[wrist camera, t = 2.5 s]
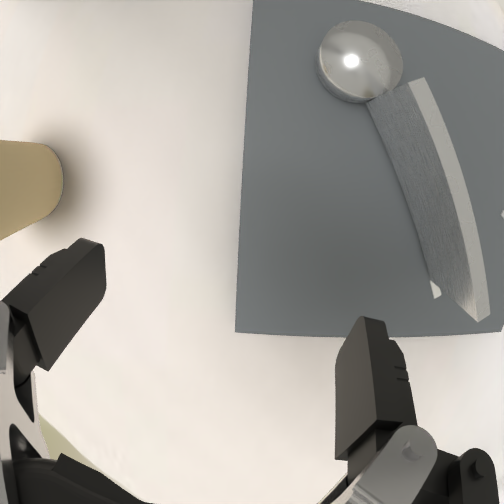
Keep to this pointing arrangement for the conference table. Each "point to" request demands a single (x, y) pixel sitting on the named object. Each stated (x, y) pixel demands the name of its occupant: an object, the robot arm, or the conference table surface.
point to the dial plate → (357, 180)
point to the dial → (412, 154)
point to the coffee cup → (27, 184)
